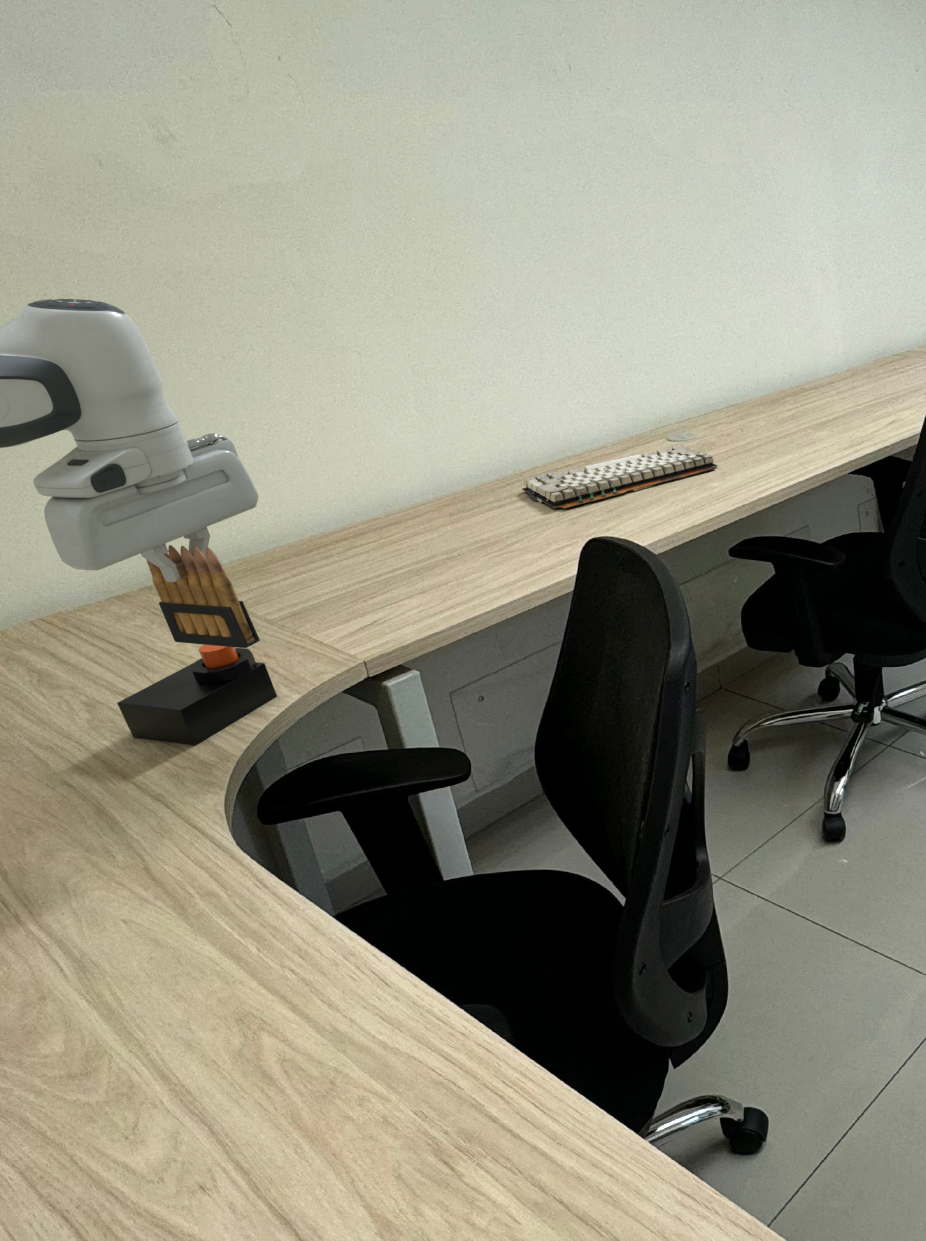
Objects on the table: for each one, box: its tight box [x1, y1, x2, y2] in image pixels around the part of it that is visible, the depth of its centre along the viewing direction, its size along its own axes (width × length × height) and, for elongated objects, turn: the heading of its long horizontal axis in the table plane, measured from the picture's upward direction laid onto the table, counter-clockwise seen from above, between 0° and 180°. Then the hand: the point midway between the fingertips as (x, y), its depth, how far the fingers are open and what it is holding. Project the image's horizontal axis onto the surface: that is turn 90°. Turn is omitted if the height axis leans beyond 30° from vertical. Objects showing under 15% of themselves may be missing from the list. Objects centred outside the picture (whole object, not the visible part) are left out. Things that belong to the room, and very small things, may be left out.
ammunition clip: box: [145, 545, 261, 649], centre depth 111 cm, size 11×2×12 cm, turn 76°
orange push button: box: [198, 644, 239, 668], centre depth 127 cm, size 4×4×3 cm
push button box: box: [116, 647, 278, 747], centre depth 127 cm, size 10×12×7 cm
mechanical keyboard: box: [521, 444, 718, 509], centre depth 212 cm, size 38×19×3 cm, turn 133°
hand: (188, 574), depth 110 cm, fingers closed on ammunition clip, 1 cm apart
